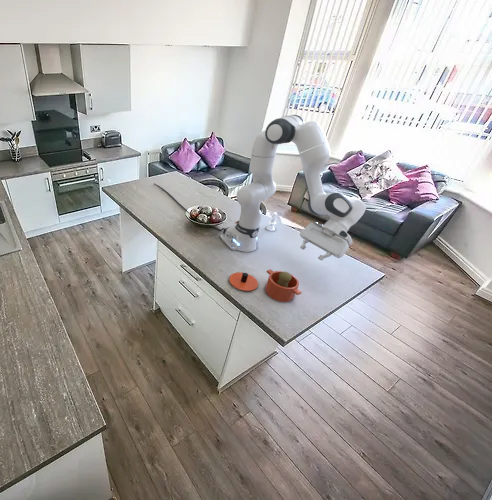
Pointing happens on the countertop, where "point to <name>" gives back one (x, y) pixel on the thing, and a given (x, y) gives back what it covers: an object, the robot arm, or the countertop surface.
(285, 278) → the cork
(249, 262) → the countertop surface
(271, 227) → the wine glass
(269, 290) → the pot
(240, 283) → the pot lid
